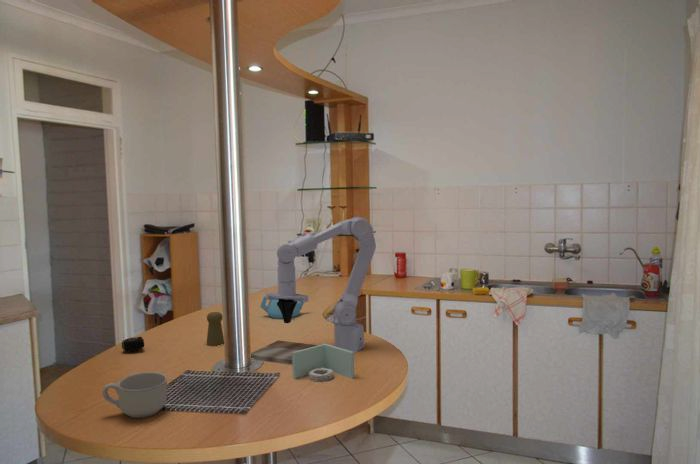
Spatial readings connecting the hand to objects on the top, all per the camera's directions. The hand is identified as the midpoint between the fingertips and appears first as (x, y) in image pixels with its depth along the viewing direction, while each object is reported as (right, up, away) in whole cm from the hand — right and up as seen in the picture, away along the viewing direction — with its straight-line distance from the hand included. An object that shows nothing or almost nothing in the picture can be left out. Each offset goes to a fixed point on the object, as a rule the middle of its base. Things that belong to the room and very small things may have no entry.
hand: (287, 322), depth 167 cm
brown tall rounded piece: (-26, -9, +10) cm, 30 cm away
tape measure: (-48, -10, +3) cm, 49 cm away
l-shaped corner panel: (+13, -11, -26) cm, 31 cm away
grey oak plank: (-1, -10, -7) cm, 12 cm away
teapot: (-8, -7, +53) cm, 54 cm away
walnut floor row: (+3, -9, +1) cm, 10 cm away
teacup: (-29, -13, -47) cm, 57 cm away
